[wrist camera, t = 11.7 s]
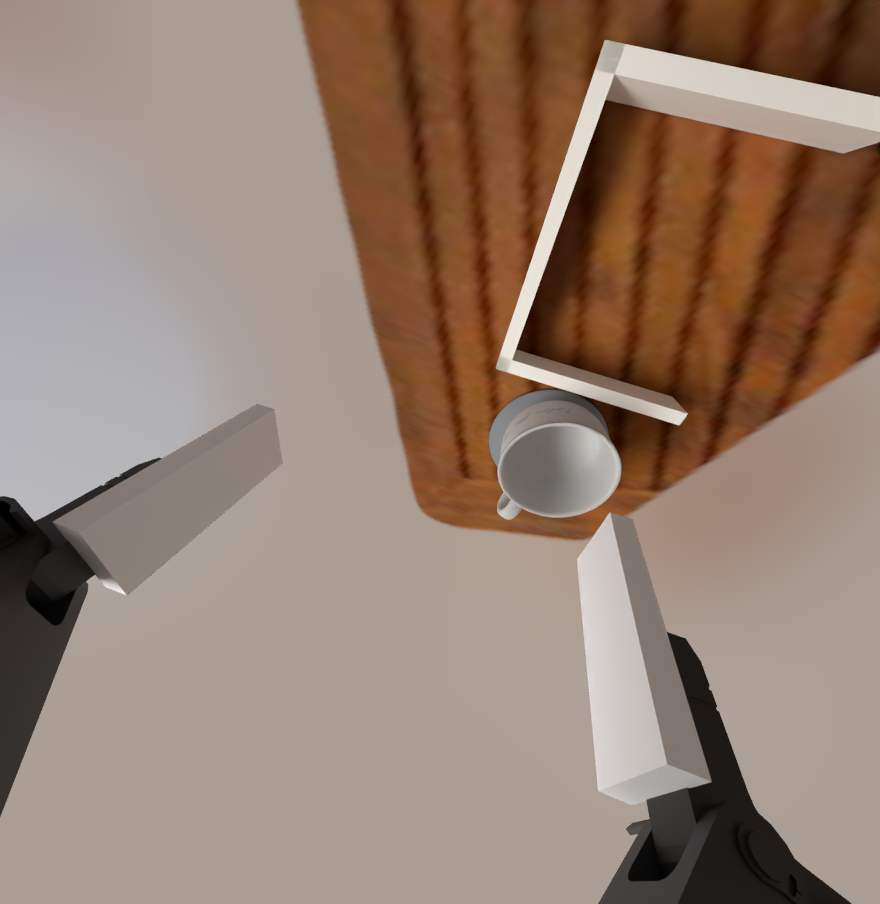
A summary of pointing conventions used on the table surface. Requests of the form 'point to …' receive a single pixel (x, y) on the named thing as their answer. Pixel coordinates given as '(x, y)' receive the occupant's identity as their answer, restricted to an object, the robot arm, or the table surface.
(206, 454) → the robot arm
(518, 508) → the teacup
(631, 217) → the table surface
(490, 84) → the table surface
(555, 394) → the grey flat disc
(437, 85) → the table surface
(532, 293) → the white u-shaped frame
